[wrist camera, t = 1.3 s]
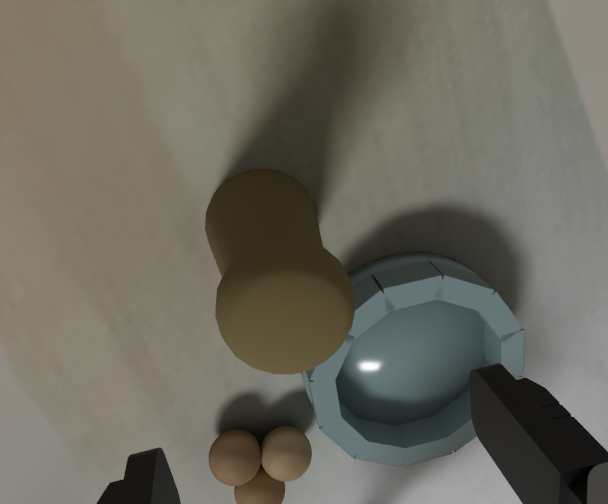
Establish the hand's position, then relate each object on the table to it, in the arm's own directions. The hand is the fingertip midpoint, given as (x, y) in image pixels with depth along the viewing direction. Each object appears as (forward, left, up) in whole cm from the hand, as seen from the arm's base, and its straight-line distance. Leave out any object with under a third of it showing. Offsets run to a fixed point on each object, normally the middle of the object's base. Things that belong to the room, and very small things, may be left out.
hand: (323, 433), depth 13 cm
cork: (0, 0, -16) cm, 16 cm away
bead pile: (+15, -3, -16) cm, 22 cm away
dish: (+10, +7, -16) cm, 20 cm away
